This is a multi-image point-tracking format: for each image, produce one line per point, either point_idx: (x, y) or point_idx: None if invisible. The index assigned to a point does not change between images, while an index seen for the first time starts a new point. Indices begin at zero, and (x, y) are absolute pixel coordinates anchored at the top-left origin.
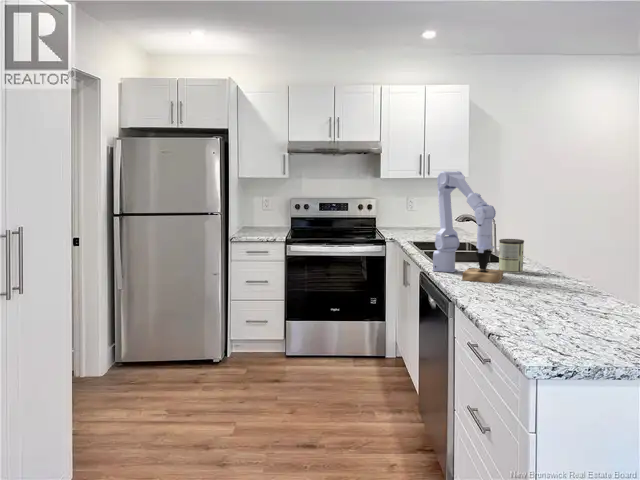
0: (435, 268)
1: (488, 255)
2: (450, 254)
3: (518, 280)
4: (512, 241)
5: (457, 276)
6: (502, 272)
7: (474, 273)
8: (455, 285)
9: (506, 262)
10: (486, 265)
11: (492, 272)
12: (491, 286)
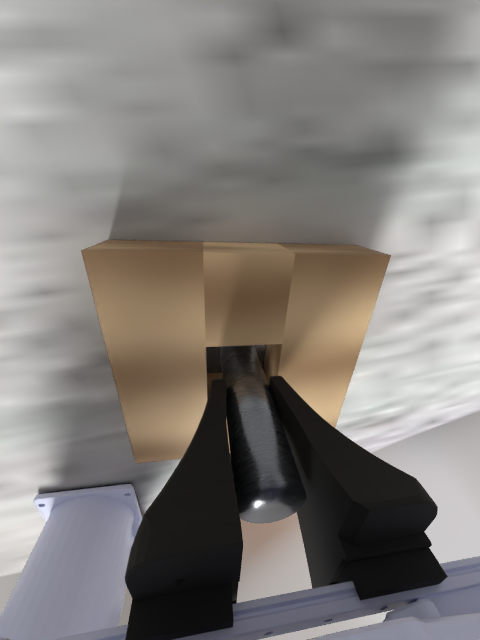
0: (132, 541)
1: (390, 470)
2: (86, 628)
3: (192, 79)
4: None
5: None
6: (144, 248)
7: (337, 397)
8: (434, 401)
9: None
10: (253, 391)
11: (262, 316)
12: (462, 266)
